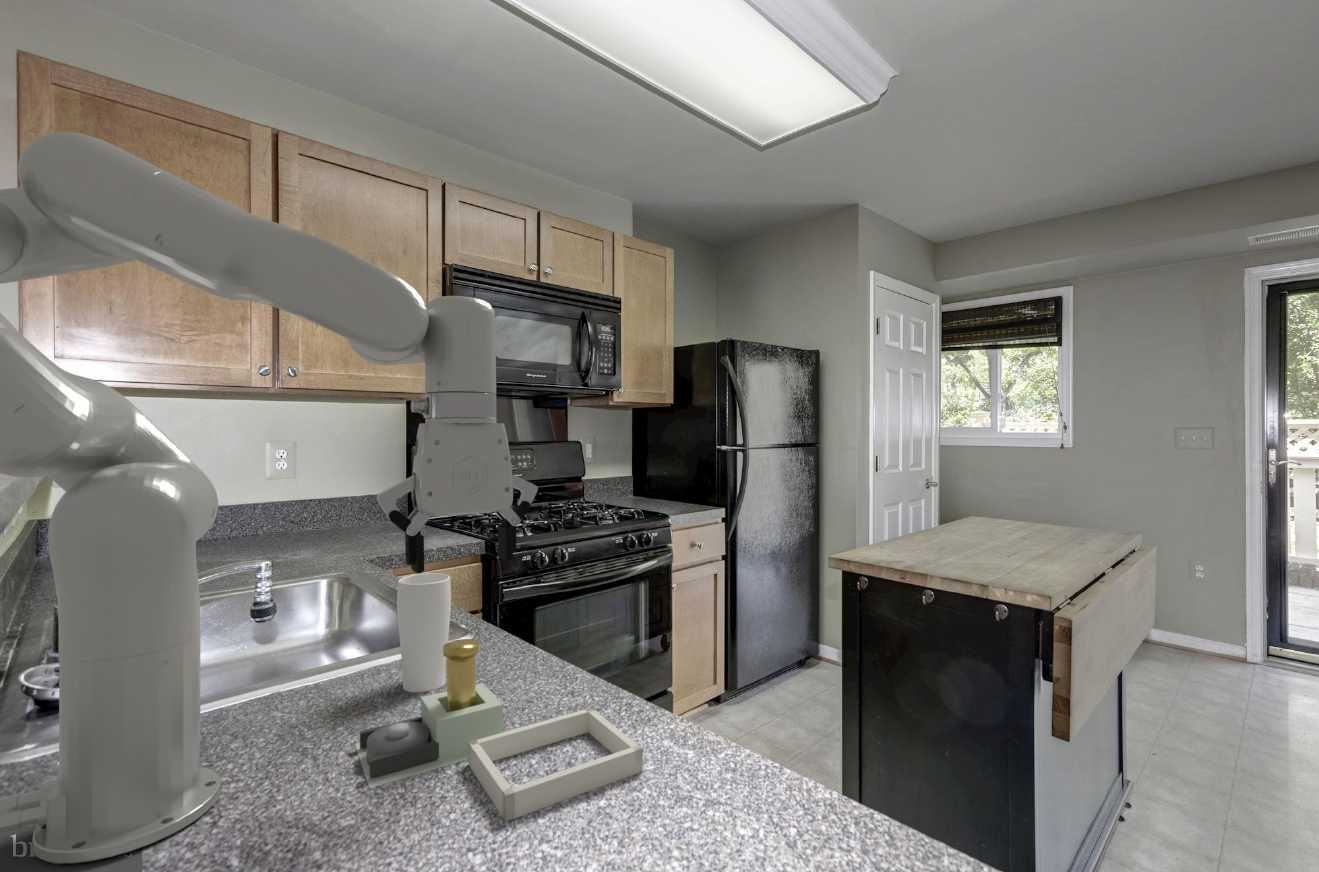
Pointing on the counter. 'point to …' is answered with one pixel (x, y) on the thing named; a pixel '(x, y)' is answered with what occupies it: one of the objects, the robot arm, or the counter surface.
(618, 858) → the counter surface
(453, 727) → the green socket holder
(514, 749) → the tray
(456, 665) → the pin
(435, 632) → the drinking glass
